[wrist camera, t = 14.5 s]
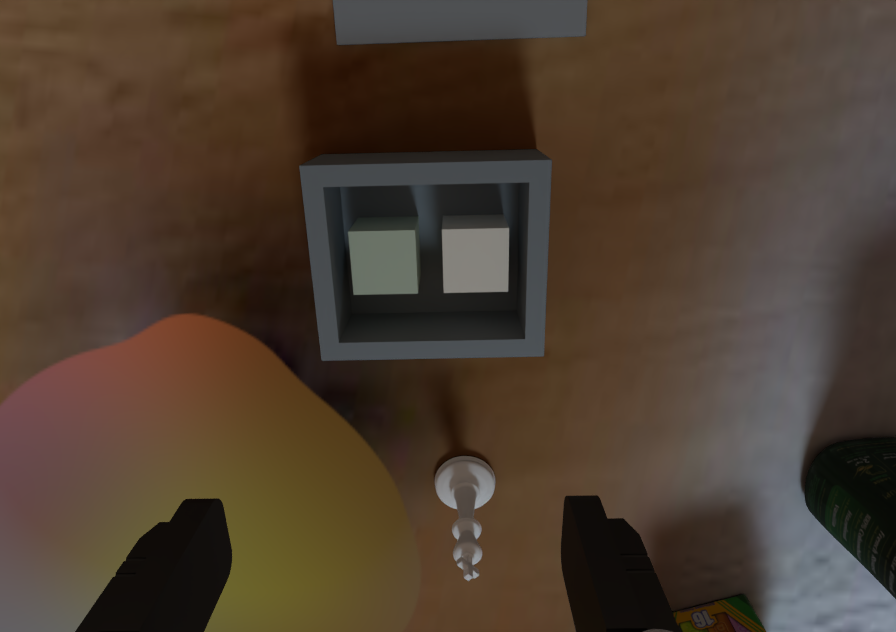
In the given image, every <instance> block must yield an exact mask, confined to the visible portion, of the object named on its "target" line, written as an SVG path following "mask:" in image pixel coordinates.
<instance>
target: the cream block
mask: <svg viewBox="0 0 896 632" xmlns="http://www.w3.org/2000/svg"><path fill="white" fill-rule="evenodd" d="M442 251H443V287H444V293H468V292H508V272H509V226H508V224H507V222H506V219H505V217H504V214H497V215H452V216H443V220H442Z"/></svg>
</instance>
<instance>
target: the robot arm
mask: <svg viewBox="0 0 896 632" xmlns="http://www.w3.org/2000/svg"><path fill="white" fill-rule="evenodd" d="M231 563H232V549H231V543H230V538H229V533H228V528H227V523H226V518H225V512H224V507H223V504H222V502H221V500H220V499H186V500H184V501H183V502H182V503H181V505H180V506H179V508H178V509H177V511H176V512H175V514H174V516H173V517H172V519H171V520H170V522H159V523H158V524H157V525H156V526H155V527H153V528H152V529H151V530H150V531H148V532H147V533H146V534H145V535H143V536H142V537H141V538H140V539H139V540H138V541H137V543H136V544H135V546H134V547H133V549H132V550H131V552H130V553H129V554H128V556H127V558H126V561H124V562H123V564H122V565H121V566H120V568H119V569H118V570H117V572H116V576H115V577H113V578H112V579H111V581H110V582H109V583H108V585H107V586H106V588H105V589H104V591H103V593H102V594H101V595H100V596H99V598H98V599H97V601H96V603H95V604H94V605H93V607H92V608H91V610H90V611H89V613H88V614H87V615H86V617H85V618H84V620H83V621H82V623H81V624H80V626H79V627H78V628H77V630H76V631H75V632H204V630H205V628H206V626H207V623H208V622H209V619H210V617H211V615H212V613H213V610H214V608H215V606H216V604H217V601H218V599H219V597H220V595H221V593H222V591H223V588H224V586H225V584H226V582H227V579H228V577H229V574H230V570H231ZM561 564H562V572H563V577H564V582H565V586H566V590H567V595H568V599H569V603H570V607H571V612H572V616H573V620H574V625H575V629H576V632H681V631H680V629H679V627H678V624H677V622H676V620H675V617H674V615H673V613H672V610H671V608H670V606H669V603H668V601H667V599H666V596H665V594H664V591H663V589H662V587H661V584H660V582H659V580H658V577H657V575H656V573H654V568H653V566H652V563H651V561H650V559H649V557H648V556H647V551H646V549H645V547H644V544H643V542H642V540H641V537H640V535H639V534H638V533H637V532H636V531H635V530H634V529H633V528H632V527H631V526H630V525H629V524H628V523H627V522H626V521H625V520H624V519H623V518H618V519H607V516H606V514H605V511H604V508H603V506H602V503H601V500H600V498H599V497H598V496H566V497H565V500H564V511H563V525H562V539H561Z"/></svg>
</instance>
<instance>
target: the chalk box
mask: <svg viewBox="0 0 896 632" xmlns="http://www.w3.org/2000/svg"><path fill="white" fill-rule="evenodd" d="M673 615H674V617H675V620H676V622H677V624H678V627H679V629H680V631H681V632H766V631H765V629H764V627H763V625H762V623H761V622H760V620H759V618H758V616H757V615H756V613H755V611H754V609H753V608H752V606H751V604H750V602H749V600H748V599H747V597H746V595H745V594H742V595H739V596H735V597H731V598H728V599H724V600H720V601H716V602H712V603H708V604H704V605H700V606H697V607H693V608H689V609H685V610H681V611H677V612H673Z"/></svg>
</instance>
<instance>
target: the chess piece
mask: <svg viewBox="0 0 896 632" xmlns="http://www.w3.org/2000/svg"><path fill="white" fill-rule="evenodd" d="M435 487H436V492H437V494H438V496H439V498H440V499H441V500H442V501H443V502H444V503H445V504H446V505H448V506H450V507H452V508H454V509H457V510H458V515H459V519H458V520H457V521H456V522H455V523H454V524H453V526H452V532H453V535H454V536H455V538H456V539H457V540H458V541H457V543H456V545H455V547H454V550H453V557H454V559H455V560H456V561H457V565H458V566H459V567H460V568H461V569H463V571H464V578H465V579H466V580H468V581H469V580H470V579H472V578H474V579H475V578H476V577H478V576H479V570H478V569H477V568H476V567H474V566H473V565H474V564H476V563H477V562H479V561H480V559H481V557H482V549H481V547H480V545H479V543H478V542H477V538H478V537H479V536H480V533H481V525H480V523H479V522H478V521H477V520H475V519H474V509H476V508H478V507H480V506H482V505H484V504H485V503H486V502H488V500H489V499H490V498H491V497H492V495H493V492H494V489H495V475H494V472H493V470H492V469H491V467H490V466H489V465H488V464H487V463H486V462H484V461H483V460H481V459H478V458H476V457H472V456H459V457H455V458H452V459H450V460H448V461H446V462H445V463H443V464H442V465H441V466H440V468H439V469H438V471H437V473H436V475H435Z"/></svg>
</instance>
